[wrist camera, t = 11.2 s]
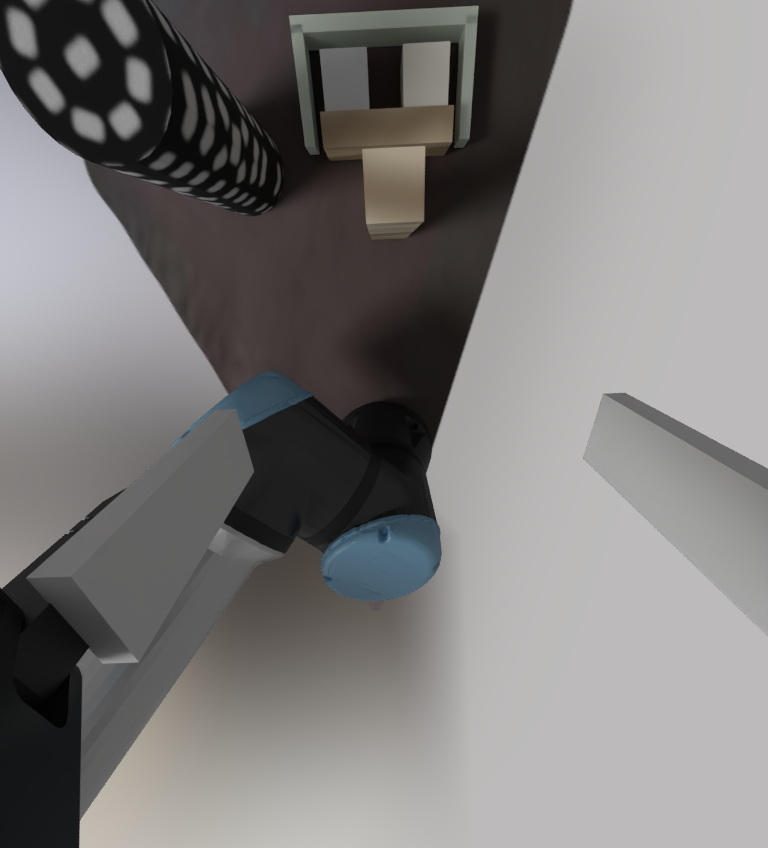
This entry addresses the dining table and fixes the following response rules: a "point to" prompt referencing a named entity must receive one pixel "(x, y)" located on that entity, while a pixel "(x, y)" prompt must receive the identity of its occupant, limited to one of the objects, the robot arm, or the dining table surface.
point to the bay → (381, 33)
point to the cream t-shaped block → (390, 159)
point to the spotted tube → (137, 99)
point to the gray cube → (345, 78)
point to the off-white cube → (425, 74)
